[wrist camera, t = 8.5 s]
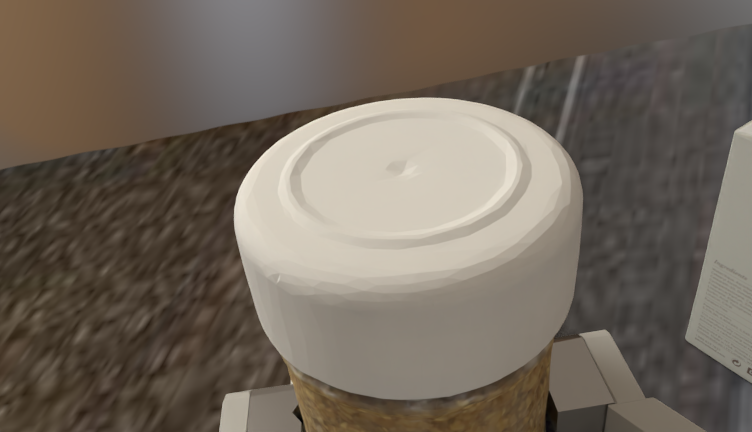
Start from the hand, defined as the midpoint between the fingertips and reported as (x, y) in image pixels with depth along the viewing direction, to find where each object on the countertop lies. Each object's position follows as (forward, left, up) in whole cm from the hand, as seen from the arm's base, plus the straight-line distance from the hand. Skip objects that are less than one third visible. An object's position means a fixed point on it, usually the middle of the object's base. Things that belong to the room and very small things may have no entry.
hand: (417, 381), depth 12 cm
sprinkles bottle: (-1, 0, -8) cm, 8 cm away
